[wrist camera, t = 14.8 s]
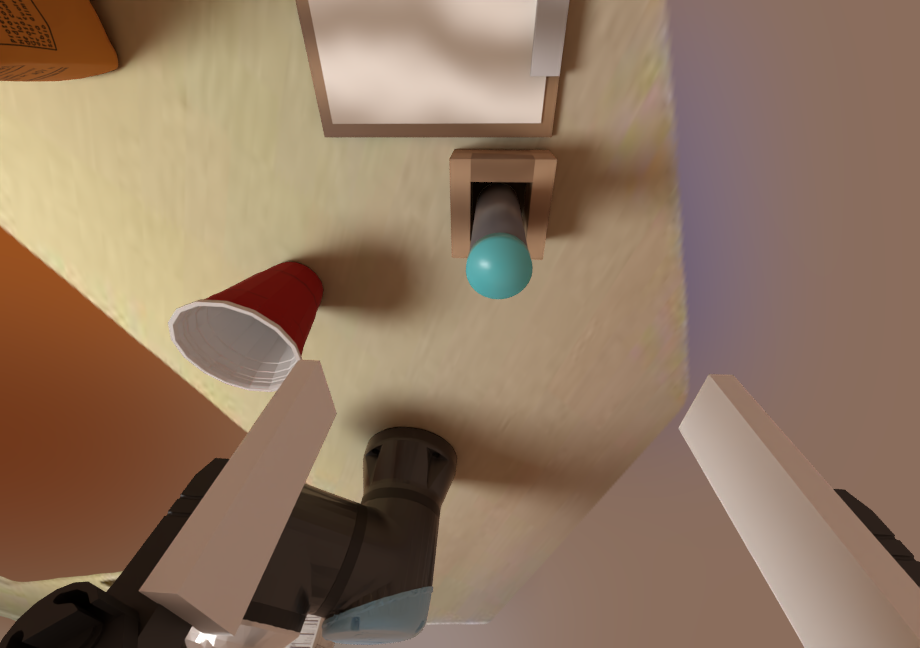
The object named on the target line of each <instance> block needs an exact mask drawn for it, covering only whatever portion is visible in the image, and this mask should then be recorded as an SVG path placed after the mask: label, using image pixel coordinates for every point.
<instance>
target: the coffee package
mask: <svg viewBox="0 0 920 648" xmlns="http://www.w3.org/2000/svg"><path fill="white" fill-rule="evenodd" d="M117 67H118V59H117V54H116V52H115V50H114V48H113V47H112V45H111V43H110V41H109V39H108V37H107V35H106V33H105V30H104V28H103V26H102V24H101V22H100V20H99V18H98V16H97V14H96V12H95V10H94V8H93V6H92V5H91V3H90V1H89V0H0V81H62V80H71V79H80V78H85V77H89V76H94V75H99V74H103V73H107V72H110V71H112V70H115V69H117Z"/></svg>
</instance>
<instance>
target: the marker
mask: <svg viewBox="0 0 920 648" xmlns="http://www.w3.org/2000/svg"><path fill="white" fill-rule="evenodd" d="M466 275H467V279H468V281H469V283H470V285H471V286H472V288H473V289H474V290H475V291H477V292H478V293H479V294H481V295H483V296H485V297H488V298H492V299H505V298H509V297H512V296H514V295H516V294H518V293H519V292H521V291H522V290H523V289H524V288H525V287H526V286H527V284H528V283H529V281H530V278H531V276H532V261H531V256H530V252H529V250H528V246H527V241H526V236H525V231H524V226H523V221H522V216H521V211H520V206H519V201H518V197H517V194H516V192H515V191H514V189H513V188H512V187H510V186H509V185H507V184H504V183H493V184H490V185H488V186H486V187H485V188H484V189H483V190H482V191H481V192H480V194H479V196H478V198H477V203H476V210H475V217H474V224H473V231H472V237H471V244H470V251H469V254H468V259H467V265H466Z"/></svg>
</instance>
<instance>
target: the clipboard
mask: <svg viewBox="0 0 920 648" xmlns="http://www.w3.org/2000/svg"><path fill="white" fill-rule="evenodd" d="M569 1H570V0H296V5H297V10H298V14H299V19H300V24H301V28H302V33H303V38H304V42H305V47H306V52H307V56H308V61H309V66H310V70H311V75H312V80H313V84H314V89H315V94H316V98H317V103H318V108H319V112H320V117H321V122H322V126H323V131H324V135H325V137H551V136H552V129H553V121H554V114H555V106H556V99H557V91H558V84H559V76H560V68H561V61H562V53H563V46H564V38H565V31H566V23H567V16H568V8H569Z"/></svg>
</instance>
